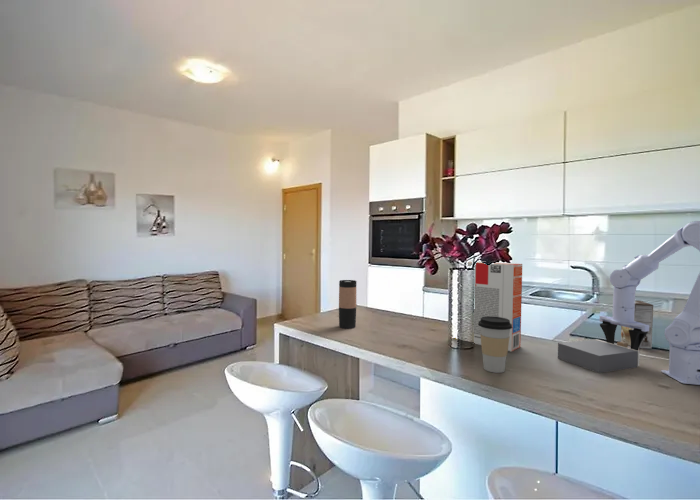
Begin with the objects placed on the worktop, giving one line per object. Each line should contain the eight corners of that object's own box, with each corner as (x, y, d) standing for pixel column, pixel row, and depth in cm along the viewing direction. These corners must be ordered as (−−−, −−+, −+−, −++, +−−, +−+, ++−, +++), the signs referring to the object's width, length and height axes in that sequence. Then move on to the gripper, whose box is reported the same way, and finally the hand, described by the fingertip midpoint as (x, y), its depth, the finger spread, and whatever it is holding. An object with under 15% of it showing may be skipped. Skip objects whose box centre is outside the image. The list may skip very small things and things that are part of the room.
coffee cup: (502, 364, 114) (503, 315, 114) (517, 375, 105) (518, 322, 105) (472, 364, 114) (473, 315, 114) (484, 375, 105) (485, 322, 104)
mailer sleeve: (598, 372, 108) (599, 355, 107) (557, 358, 121) (558, 342, 121) (637, 367, 113) (637, 351, 113) (593, 353, 126) (594, 339, 126)
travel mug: (335, 325, 163) (336, 280, 162) (351, 324, 166) (352, 279, 166) (342, 329, 156) (343, 282, 155) (359, 327, 159) (359, 281, 159)
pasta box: (520, 346, 133) (522, 263, 133) (511, 351, 128) (513, 264, 127) (461, 334, 149) (463, 260, 149) (451, 338, 144) (452, 261, 143)
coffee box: (619, 341, 143) (621, 299, 142) (638, 342, 141) (639, 300, 141) (632, 347, 134) (634, 303, 133) (653, 349, 132) (654, 304, 132)
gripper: (593, 303, 126) (592, 343, 126) (638, 311, 112) (637, 356, 112) (608, 302, 128) (607, 341, 128) (654, 310, 114) (652, 354, 115)
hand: (622, 348), depth 120 cm, fingers open, 7 cm apart
